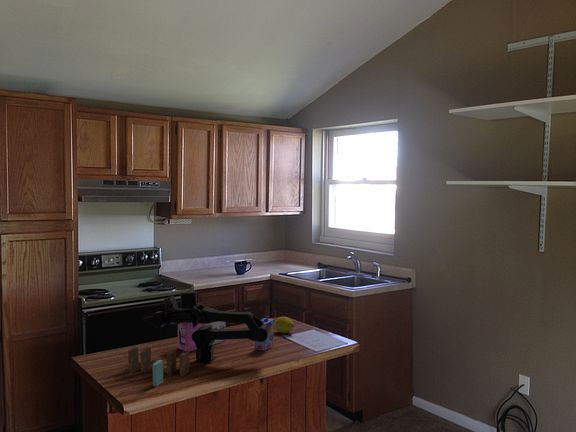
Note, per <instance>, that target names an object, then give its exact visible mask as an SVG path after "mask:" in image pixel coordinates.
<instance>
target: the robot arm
mask: <svg viewBox="0 0 576 432" xmlns="http://www.w3.org/2000/svg"><path fill="white" fill-rule="evenodd" d="M179 295H180V306H181V307H179V306H178V302H177V299H176V297H175V296H174V295H171V296H168V297H166V298H164V299H163V303H164V305H165V308H166V309H164V311H156V312H154V313H152V315H150V316H146V317H145V316H144V317H142V321H143V322H146V323H148V324H149V325H151V326H153V327H154V328H155V329H160V328H163V327H164V326H165V325H172V324H175V325H178V324H180V323H192V325H193V328H194V327H196V326H197V325H198V324H199V323H200V324H207V323H213V322H218V321H220V322H226V323H240V324H241V323H242V324H243V323H244V324H245V326H247V327H242V328H241V327H239V328H226V329H213V328H212V325H207V326H206V325H202V326H201V327H199V328H198V329H197V330H196V331H194V332H193V334H192V340H193V342H195V345H196V348H197V349H196V350H195V359H196V360H195V363H205V364H206V363H207V364H211V363H212V362H213V361H214V360H215V359H216V357H215V352H214V350H215V344H213V343H214V341H215V340H226V341H227V340H249V341H252V342H255V341H257V342H264V341H265V340H266V339H267V338H268V336H269V335H270V333H271V330H270V327H269V326H268V325H267V324H264V323H263V322H262V321H261V319H260V318H258V317H257V316H256V315H255V314H254V313H252V312H251V311H232V310H231V311H228V310H218V309H216V308H213V307H209V306H205V305H203V304H202V303H201V302H198V292H197V291H193V290H184V291H180V293H179ZM212 344H213V345H212Z"/></svg>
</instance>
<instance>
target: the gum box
mask: <svg viewBox="0 0 576 432" xmlns="http://www.w3.org/2000/svg"><path fill="white" fill-rule="evenodd" d="M226 324H227V322H220V321H218V322H213V323H207V324H200V323H199V324H198V325H197V326H196V327H194V328H193V325H192V323H180V324H177V349H178V350H181V351H183V352H185V351H189V353H190V352H192V351H196V349H197V348H196V345H195V342H193V340H192V334H193V332H194V331H196V330H197V329H198V328H199V327H201V326H202V325H206V326H207V325H212V328H213V329H227V328H226V326H227V325H226ZM226 341H227V340H215V341H214V343H213V344H212V345H216V344H217V345H218V344H220V343H223V342H226Z"/></svg>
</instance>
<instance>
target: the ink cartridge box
mask: <svg viewBox="0 0 576 432" xmlns="http://www.w3.org/2000/svg"><path fill="white" fill-rule="evenodd" d="M269 317H270V315H267V316H265V317H264V318H261V319H260V320H261V321H262V322H263V323H264V324H267V325H268V326H269V327H270V330H271V333H270V335H269V336H268V338H267V339H266V340H265V341H264V342H257V341H254V350H258V351H262V352H264V351H266V350H268V349H270V348H271V347H273V346H274V341H275V339H274V338H275V337H274V335H275V334H274V333H275V319H274V318H269Z"/></svg>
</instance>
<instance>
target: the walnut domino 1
mask: <svg viewBox="0 0 576 432" xmlns="http://www.w3.org/2000/svg"><path fill="white" fill-rule="evenodd" d="M127 356H128V357H127V358H128V360H127V361H128V367H127V368H128V371H129V372H133V371H134V370H136V369H137V368H139V367H140V364H139V362H140V360H139V347H138V346H134V347H132V348H130V349H129V350H128V351H127Z"/></svg>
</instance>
